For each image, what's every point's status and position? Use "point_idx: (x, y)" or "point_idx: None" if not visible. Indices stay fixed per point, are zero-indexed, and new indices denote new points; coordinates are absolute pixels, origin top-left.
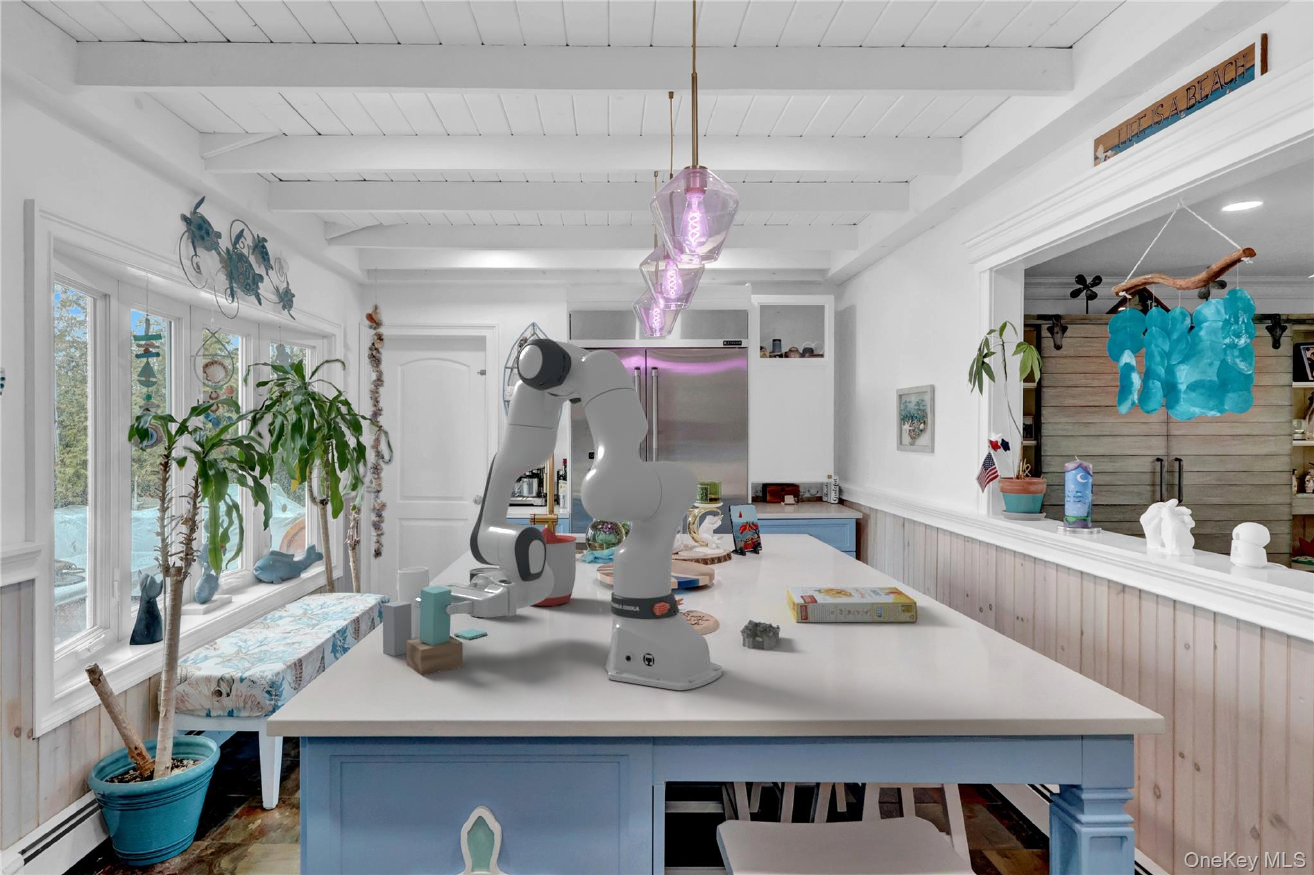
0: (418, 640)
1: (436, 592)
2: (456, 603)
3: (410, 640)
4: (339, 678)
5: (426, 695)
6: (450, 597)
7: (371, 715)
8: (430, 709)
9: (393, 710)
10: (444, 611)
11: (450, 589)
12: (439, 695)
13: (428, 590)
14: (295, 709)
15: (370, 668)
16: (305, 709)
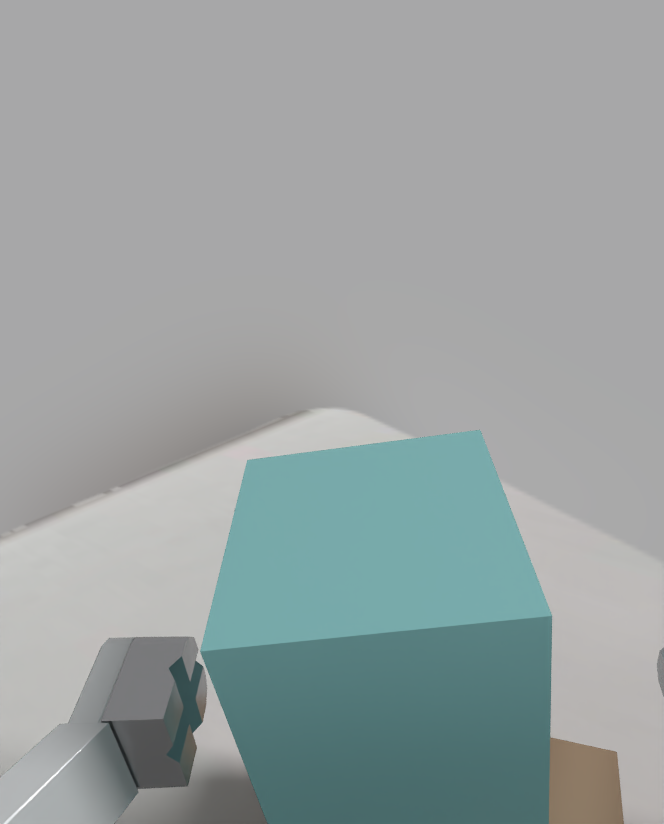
0: (562, 813)
1: (252, 483)
2: (89, 737)
3: (601, 771)
4: (572, 555)
5: None
6: (234, 723)
7: (159, 493)
8: (9, 589)
9: (125, 532)
10: (203, 671)
11: (217, 648)
12: (52, 673)
13: (388, 461)
14: (371, 427)
15: (650, 681)
16: (351, 436)
